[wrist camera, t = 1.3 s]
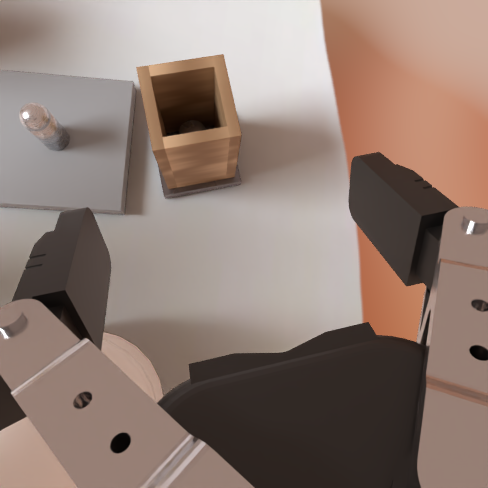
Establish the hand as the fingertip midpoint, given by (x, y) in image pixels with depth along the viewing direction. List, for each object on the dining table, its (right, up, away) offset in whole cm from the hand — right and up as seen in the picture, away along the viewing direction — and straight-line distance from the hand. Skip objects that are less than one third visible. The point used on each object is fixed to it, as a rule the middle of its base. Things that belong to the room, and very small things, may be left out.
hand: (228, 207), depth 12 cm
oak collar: (-4, +7, +23) cm, 24 cm away
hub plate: (-16, +8, +23) cm, 29 cm away
